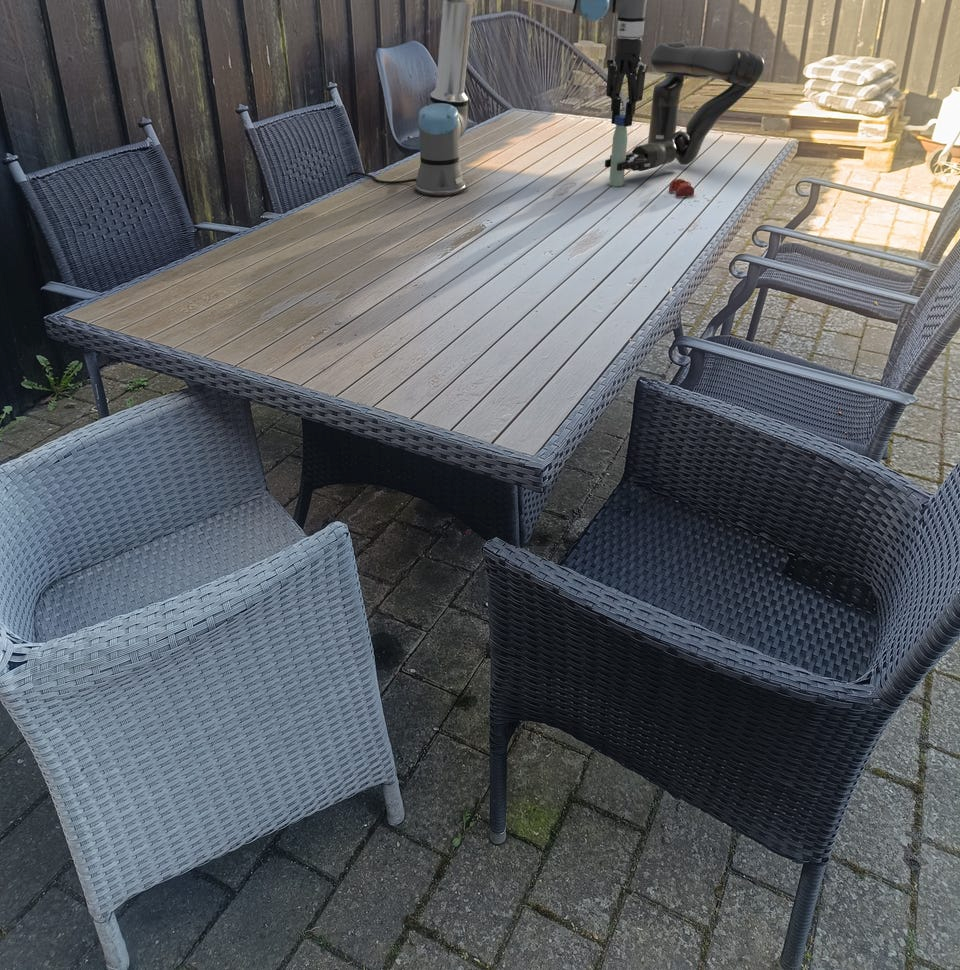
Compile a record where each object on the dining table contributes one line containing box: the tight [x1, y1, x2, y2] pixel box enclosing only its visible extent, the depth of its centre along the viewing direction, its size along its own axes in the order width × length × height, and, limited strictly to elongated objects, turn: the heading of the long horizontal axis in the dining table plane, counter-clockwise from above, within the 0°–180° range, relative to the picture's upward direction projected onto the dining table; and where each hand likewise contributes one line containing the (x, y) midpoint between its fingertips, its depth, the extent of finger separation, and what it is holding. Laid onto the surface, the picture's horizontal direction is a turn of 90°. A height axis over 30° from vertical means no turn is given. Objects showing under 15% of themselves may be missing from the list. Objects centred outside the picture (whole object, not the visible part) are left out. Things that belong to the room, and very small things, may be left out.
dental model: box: [668, 178, 695, 198], centre depth 254 cm, size 6×4×8 cm
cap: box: [613, 114, 625, 126], centre depth 252 cm, size 4×4×2 cm
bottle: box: [608, 125, 629, 187], centre depth 258 cm, size 4×4×19 cm
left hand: (621, 124), depth 253 cm, fingers closed on cap, 4 cm apart
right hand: (611, 165), depth 258 cm, fingers closed on bottle, 4 cm apart
